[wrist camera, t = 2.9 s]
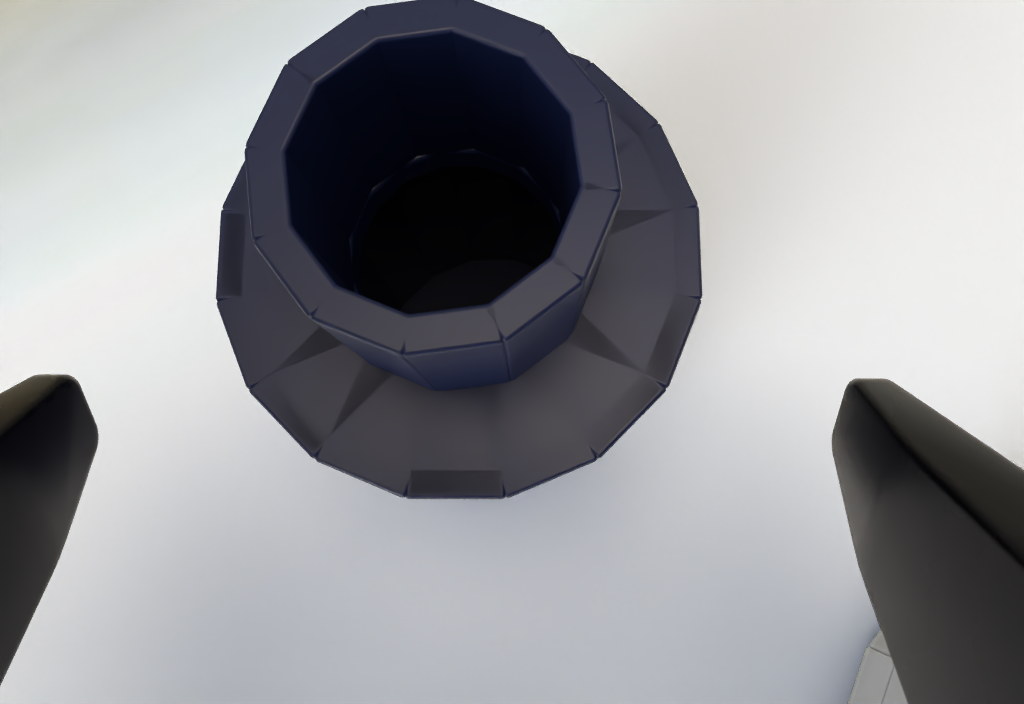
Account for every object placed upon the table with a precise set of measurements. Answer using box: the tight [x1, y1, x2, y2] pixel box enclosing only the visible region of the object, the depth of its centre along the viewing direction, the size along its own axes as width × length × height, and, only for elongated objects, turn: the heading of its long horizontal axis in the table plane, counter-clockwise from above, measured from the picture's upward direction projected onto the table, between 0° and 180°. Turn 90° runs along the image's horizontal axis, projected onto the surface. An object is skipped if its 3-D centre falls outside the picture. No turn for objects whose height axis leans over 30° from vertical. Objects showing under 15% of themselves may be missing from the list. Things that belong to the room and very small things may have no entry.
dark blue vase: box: [216, 0, 702, 499], centre depth 13 cm, size 6×6×12 cm
